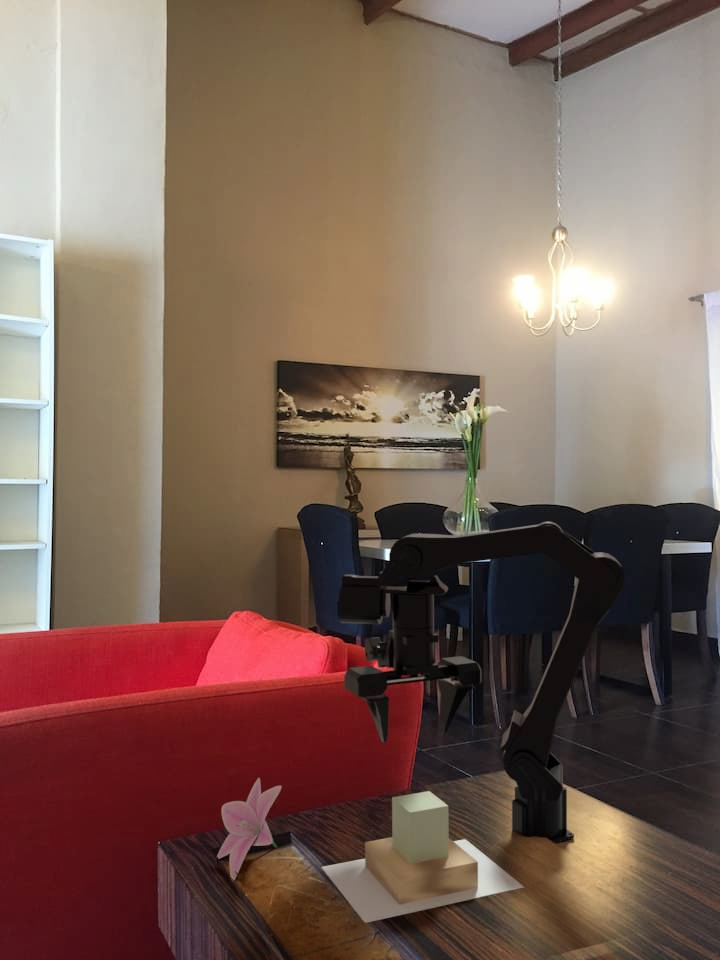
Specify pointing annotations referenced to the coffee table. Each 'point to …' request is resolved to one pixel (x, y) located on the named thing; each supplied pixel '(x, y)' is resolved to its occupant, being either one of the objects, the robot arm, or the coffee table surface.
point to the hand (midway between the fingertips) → (414, 737)
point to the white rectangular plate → (380, 904)
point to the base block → (420, 872)
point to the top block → (420, 827)
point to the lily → (247, 825)
